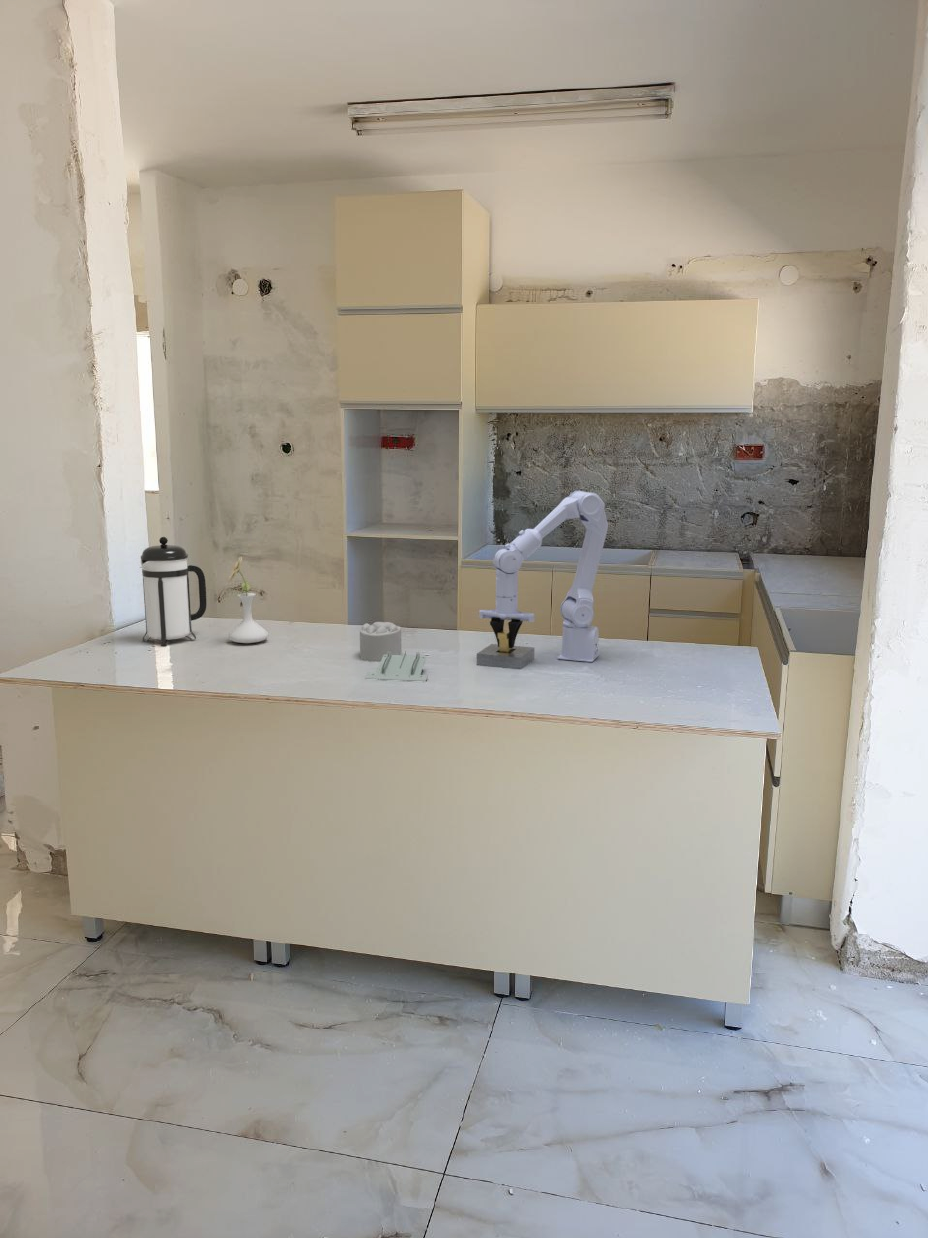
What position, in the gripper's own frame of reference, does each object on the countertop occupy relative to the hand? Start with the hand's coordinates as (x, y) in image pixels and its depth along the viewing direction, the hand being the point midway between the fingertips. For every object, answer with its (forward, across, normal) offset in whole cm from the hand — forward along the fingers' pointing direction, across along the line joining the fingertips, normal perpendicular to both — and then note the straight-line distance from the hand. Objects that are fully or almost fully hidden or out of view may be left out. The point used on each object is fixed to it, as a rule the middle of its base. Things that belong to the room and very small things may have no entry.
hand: (506, 646), depth 243 cm
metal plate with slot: (+4, 0, 0) cm, 4 cm away
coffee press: (+4, -98, -10) cm, 99 cm away
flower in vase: (+4, -76, -5) cm, 76 cm away
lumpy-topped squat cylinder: (+4, -34, -6) cm, 35 cm away
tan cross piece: (+3, 0, 0) cm, 3 cm away
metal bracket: (+5, -20, -22) cm, 30 cm away
